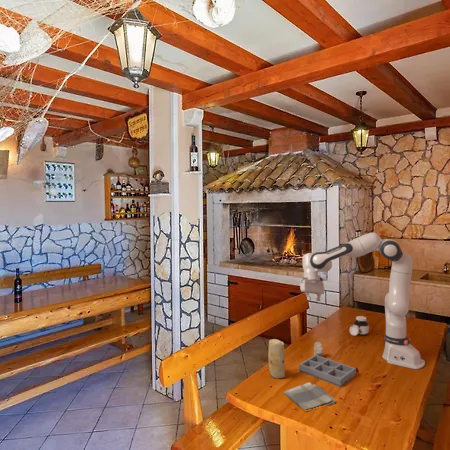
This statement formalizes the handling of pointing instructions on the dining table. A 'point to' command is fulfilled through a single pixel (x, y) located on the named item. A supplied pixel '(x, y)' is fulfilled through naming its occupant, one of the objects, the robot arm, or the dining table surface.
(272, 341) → the food model
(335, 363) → the gray compartment tray
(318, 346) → the egg
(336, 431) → the dining table surface
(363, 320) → the spread jar
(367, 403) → the dining table surface
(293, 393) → the dish towel
